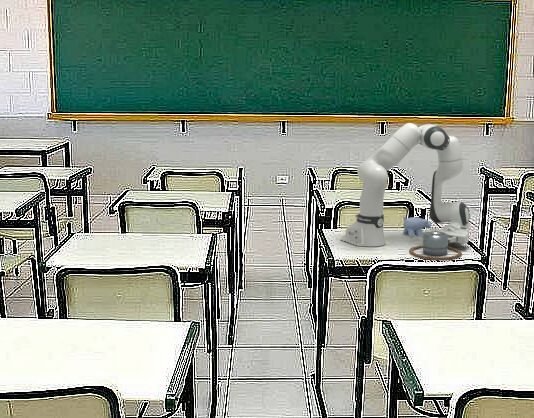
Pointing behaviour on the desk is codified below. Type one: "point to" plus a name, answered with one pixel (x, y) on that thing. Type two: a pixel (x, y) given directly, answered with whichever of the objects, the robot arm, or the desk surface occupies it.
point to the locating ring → (435, 257)
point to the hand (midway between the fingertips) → (440, 239)
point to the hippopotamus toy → (415, 226)
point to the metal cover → (435, 244)
